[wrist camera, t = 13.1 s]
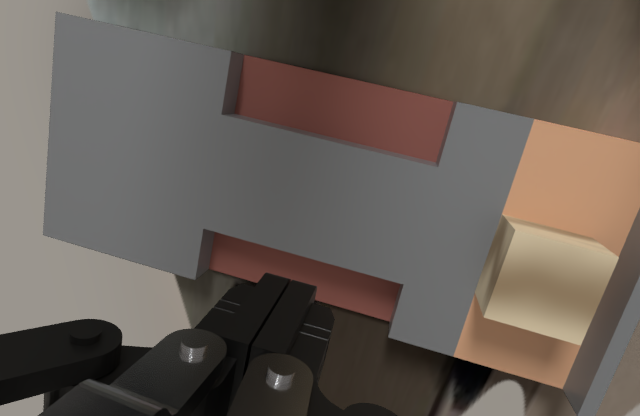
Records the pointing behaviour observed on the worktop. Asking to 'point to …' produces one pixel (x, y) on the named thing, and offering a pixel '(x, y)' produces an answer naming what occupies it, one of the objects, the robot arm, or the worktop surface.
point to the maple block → (544, 279)
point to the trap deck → (333, 191)
